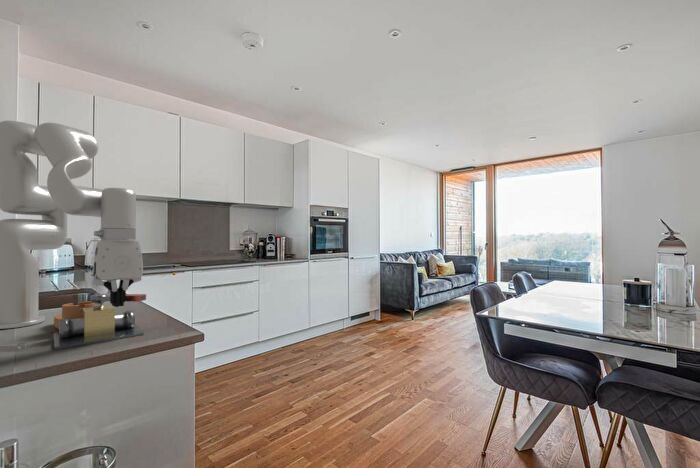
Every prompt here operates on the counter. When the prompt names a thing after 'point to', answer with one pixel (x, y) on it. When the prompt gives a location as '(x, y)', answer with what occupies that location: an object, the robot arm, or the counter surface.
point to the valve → (96, 327)
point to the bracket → (72, 311)
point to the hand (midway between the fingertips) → (117, 305)
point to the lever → (107, 297)
